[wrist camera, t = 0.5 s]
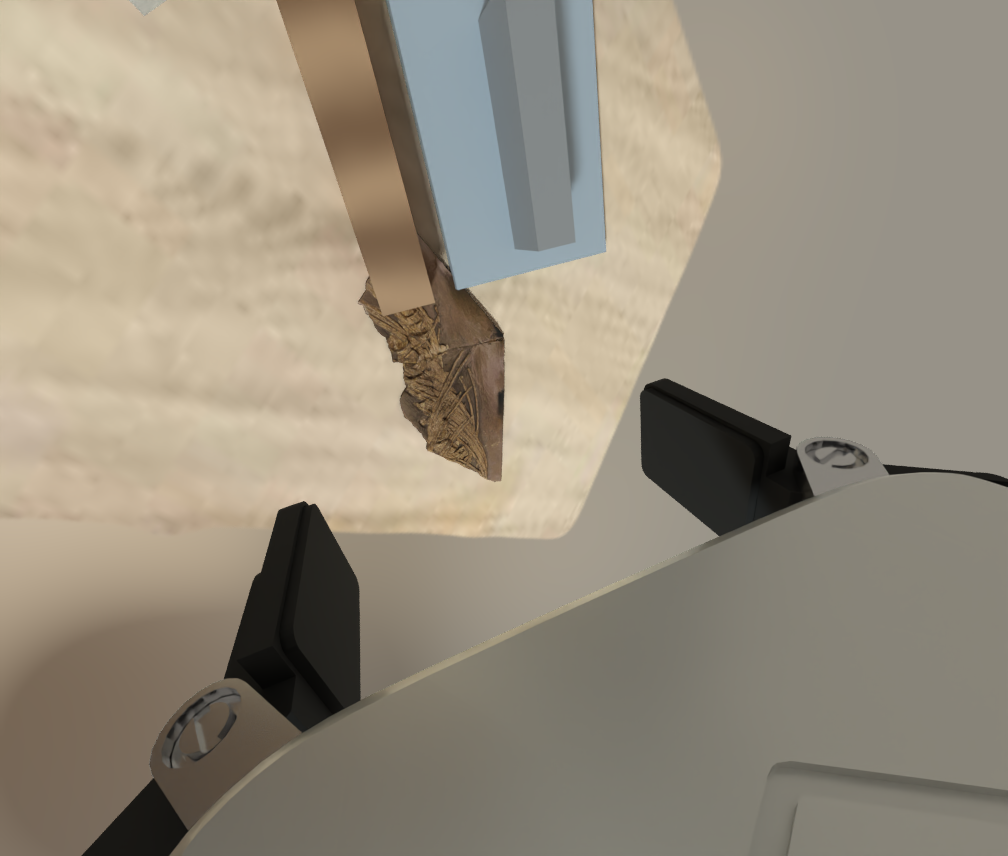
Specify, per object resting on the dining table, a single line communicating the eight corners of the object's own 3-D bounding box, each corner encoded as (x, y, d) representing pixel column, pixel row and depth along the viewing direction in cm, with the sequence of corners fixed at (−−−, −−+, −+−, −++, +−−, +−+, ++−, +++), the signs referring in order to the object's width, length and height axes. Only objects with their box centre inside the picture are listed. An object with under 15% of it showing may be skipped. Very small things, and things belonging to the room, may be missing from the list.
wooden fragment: (337, 249, 30) (337, 250, 29) (472, 213, 32) (476, 212, 31) (439, 502, 43) (441, 508, 42) (531, 465, 45) (535, 470, 44)
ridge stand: (384, -6, 25) (391, -69, 20) (583, -26, 27) (635, -86, 22) (455, 288, 34) (472, 298, 28) (600, 251, 36) (640, 254, 31)
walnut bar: (245, -93, 22) (224, -153, 18) (319, -97, 23) (313, -155, 19) (379, 307, 32) (382, 316, 29) (426, 295, 33) (435, 302, 30)
